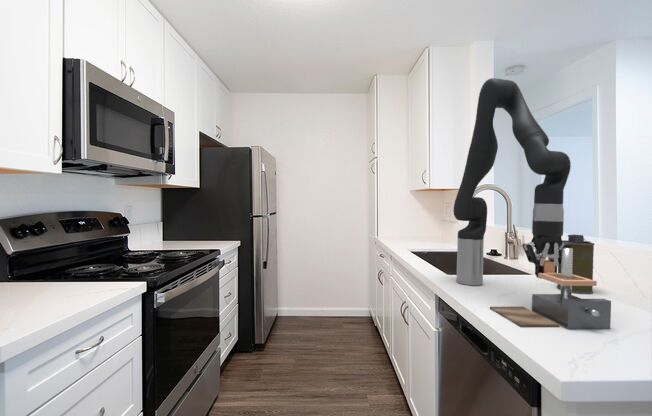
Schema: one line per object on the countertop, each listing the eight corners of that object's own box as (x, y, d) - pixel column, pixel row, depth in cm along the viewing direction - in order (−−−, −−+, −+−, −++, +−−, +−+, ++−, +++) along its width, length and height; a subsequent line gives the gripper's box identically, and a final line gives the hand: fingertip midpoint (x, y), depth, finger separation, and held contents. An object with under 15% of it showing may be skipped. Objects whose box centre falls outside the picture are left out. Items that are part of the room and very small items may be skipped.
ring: (527, 273, 96) (528, 260, 96) (556, 273, 97) (557, 260, 97) (562, 285, 83) (563, 270, 83) (596, 285, 83) (597, 270, 83)
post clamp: (531, 311, 93) (533, 245, 93) (568, 311, 93) (570, 245, 93) (574, 332, 78) (576, 254, 78) (617, 332, 79) (620, 254, 78)
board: (489, 308, 95) (489, 306, 95) (522, 308, 95) (522, 306, 95) (520, 327, 81) (520, 324, 81) (559, 326, 81) (559, 324, 81)
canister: (578, 295, 111) (579, 236, 110) (549, 287, 121) (551, 233, 120) (601, 293, 113) (603, 236, 113) (571, 285, 123) (573, 233, 123)
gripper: (560, 218, 99) (558, 275, 99) (516, 218, 98) (514, 274, 99) (581, 220, 91) (579, 281, 92) (533, 220, 91) (531, 281, 91)
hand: (545, 277), depth 95 cm, fingers closed on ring, 3 cm apart
